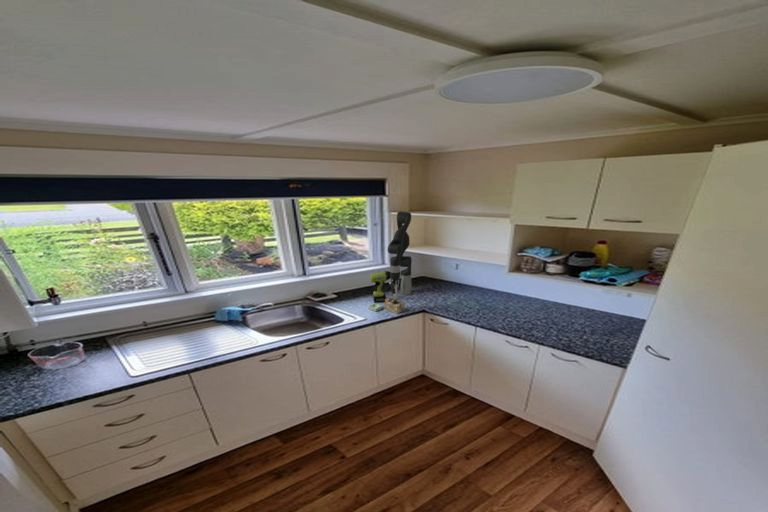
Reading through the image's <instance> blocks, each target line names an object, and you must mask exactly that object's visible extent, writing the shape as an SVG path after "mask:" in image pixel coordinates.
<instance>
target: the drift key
mask: <svg viewBox="0 0 768 512" xmlns="http://www.w3.org/2000/svg"><path fill="white" fill-rule="evenodd" d="M390 301H392V300H391V298H388V297H386V299H385V302H384V308H385V309H386V303H388V302H390Z"/></svg>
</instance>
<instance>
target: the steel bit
mask: <svg viewBox="0 0 768 512" xmlns="http://www.w3.org/2000/svg"><path fill="white" fill-rule="evenodd" d="M393 285H394V284H393ZM393 287H394V286H393ZM392 300H393V304H397V300H398V292H397V284H396V286H395V294H393V293H392Z"/></svg>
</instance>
